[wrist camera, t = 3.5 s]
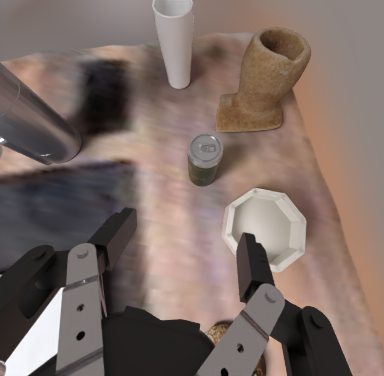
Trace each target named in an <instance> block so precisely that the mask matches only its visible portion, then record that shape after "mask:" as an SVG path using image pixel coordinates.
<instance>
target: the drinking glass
mask: <svg viewBox="0 0 384 376" xmlns="http://www.w3.org/2000/svg"><path fill="white" fill-rule="evenodd" d="M152 6H153V13H154V20H155V26H156V31H157V36H158V40H159V44H160V48H161V51H162V55H163V59H164V63H165V67H166V71H167V75H168V81H169V84H170V85H171V86H172V87H173V88H175V89H183V88H185V87H187V86H188V85H189V83H190V72H191V58H192V45H193V28H194V16H193V0H153V3H152Z"/></svg>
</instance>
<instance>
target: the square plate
mask: <svg viewBox="0 0 384 376" xmlns="http://www.w3.org/2000/svg"><path fill="white" fill-rule="evenodd" d="M0 276H1V275H0ZM65 288H66V287H65ZM63 289H64V288H61V289H60V290H59V291H58V293H57V294H56V295H55V297H54V298H53V299H52V301H51V302H50V303H49V305H48V306H47V307H46V309H45V310H44V311H43V313H42V314H41V315H40V317H39V318H38V320H37V321H36V322H35V324H34V325H33V326H32V328H31V329H30V330H29V332H28V333H27V334H26V336H25V337H24V338H23V340H22V341H21V342H20V344H19V345H18V346H17V348H16V349H15V350H14V352H13V353H12V354H11V356H10V357H9V358H8V360H7V361H6V362H5V365H6V373H5V376H28V375H29V374H30V373H32V372H33V371H34V370H35V369H37V368H38V367H39V366H41V365H42V364H43V363H45V362H46V361H47V360H49V359H50V358H51V357H53V356H54V355H55V354H57V352H58V339H59V326H60V314H61V301H62V291H63Z"/></svg>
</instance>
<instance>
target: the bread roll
mask: <svg viewBox="0 0 384 376" xmlns="http://www.w3.org/2000/svg"><path fill="white" fill-rule="evenodd" d="M230 326H231V325H227V324H217V325H215V326H213V327H212V328H211V329H210V330H209V331H208V332H206V333H205V334H206V335H207V336H208V337H209V338H210V339H211V340H212V342H213V343H214V344H215V346H216V345H217V344H218V342H219V341H220V340H221V338H222V337H223V336H224V334H225V333H226V331H227V330H228V329H229V327H230ZM251 376H266V365H265V361H264V357H263V354H262V355H261V357H260V359H259V361H258V363H257V365H256V367H255V369H254V371H253V373H252V375H251Z"/></svg>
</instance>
